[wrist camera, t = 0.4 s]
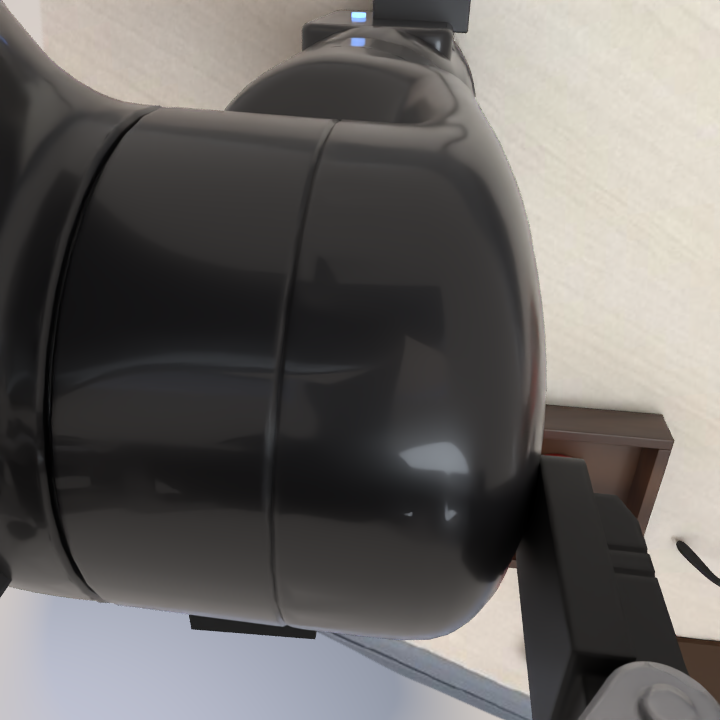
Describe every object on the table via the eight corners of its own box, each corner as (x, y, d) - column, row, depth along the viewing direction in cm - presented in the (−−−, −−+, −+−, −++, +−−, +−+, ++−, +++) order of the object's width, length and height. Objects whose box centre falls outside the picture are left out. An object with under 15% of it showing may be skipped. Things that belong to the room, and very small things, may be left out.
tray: (472, 398, 47) (473, 422, 44) (662, 414, 46) (674, 440, 43) (454, 533, 53) (454, 561, 51) (620, 551, 52) (629, 580, 50)
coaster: (643, 632, 56) (645, 638, 56) (745, 644, 55) (747, 649, 55) (621, 693, 60) (623, 698, 60) (716, 704, 59) (718, 710, 59)
